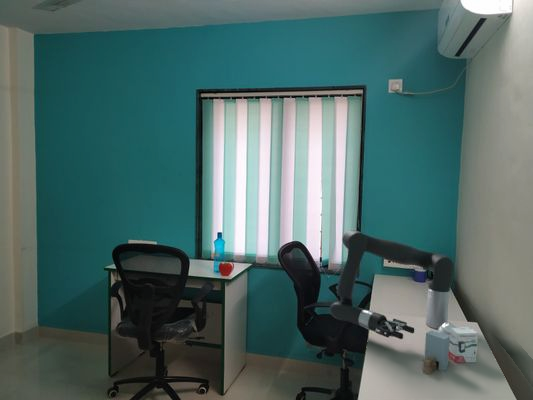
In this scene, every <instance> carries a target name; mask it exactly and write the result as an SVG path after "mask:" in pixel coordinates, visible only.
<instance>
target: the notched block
mask: <svg viewBox="0 0 533 400" xmlns="http://www.w3.org/2000/svg"><path fill="white" fill-rule="evenodd" d="M449 339H450V336H447V335H444V334H441V333H438V332H437V331H434V330H429V331H427V332H426V333H425V344H424V357H423V358H424V359H423V361H424V360H425V359H426V358H428V357H429V356H432V357H435V358H436V361H438V362H439V367H438V370H439V371H441V372H444V371H445V370H447V369H448V366H449V360H448V353H449Z"/></svg>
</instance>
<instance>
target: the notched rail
mask: <svg viewBox="0 0 533 400" xmlns="http://www.w3.org/2000/svg"><path fill="white" fill-rule="evenodd" d="M449 359H450V358H449V353H448V361H449ZM422 365H423V367H422V370H423V371H422V373H424V374H427V375H430V374H431V373H432V372H434V371H435V370H438V369H439V362H438V361H436V358H435V357H432V356H429V357H428V358H426V359H425V360H424V359H423V364H422Z"/></svg>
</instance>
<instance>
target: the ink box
mask: <svg viewBox="0 0 533 400" xmlns="http://www.w3.org/2000/svg"><path fill="white" fill-rule="evenodd" d="M478 337H479V333H478V332H477V331H476V330H475V329H473V328H472V327H469V326H465V327H456V328H451V329H450V345H449V359H450V360H452V361H453V362H454V363H457V364H458V363H475V362H477V349H478Z"/></svg>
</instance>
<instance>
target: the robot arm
mask: <svg viewBox="0 0 533 400" xmlns="http://www.w3.org/2000/svg"><path fill="white" fill-rule="evenodd" d="M342 243H343V245H344V247H345V248H346V249H347V256H346V257H347V259H346V261H345V265H344V267H343V269H342V271H341V273H340V275H339V279H338V281H337V282H338V283H337V288H336V294H337V296H338V297H339V298H340V300H339V301H336V302H333V303H331V304H330V305H329V313H330V315H331V316H332V317H333V318H334V319H336V320H339V321H344V322H350V323H353V324H354V325H357V326H360V327H362V328H365V329H367V330H369V331H371V332H374V333H376V334H378V335H380V336H382V337H386V338H396V339H398V340H403V339H404V333H403V332H401V331H404V332H407V333H410V334H414V333H415V327H412V326H409V325H407V324H408V323H407V322H406V321H403V320H400V319H396V318H393V319H392V320H388V319H387V316H386V315H384V314H381V313H379V312H375V311H372V310H368V309H364V308H363V307H362V308H361V307H359V306H353V305H354V304H353V303H354V302H353V299H354V298H353V292H354V289H355V283H356V280H357V274H358V271H359V268H360V265H361V262H362V260H363V258H364V257H363V256H364V254H365V253H369V254H371V255H374V256H376V257H379V258H380V259H383V260H385V261H388V262H392V263H395V264H397V265H398V264H399V265H405V266H417V267H420V268H423V269H425V270H428V271H430V272H431V273H433V277H432V280H430V281H428V284H427V285H428V286H427V301H426V302H427V304H426V316H425V317H426V318H425V325H426V326H427V327H430V328H432V329H437V330H438V329H439V327H440V326H442V325H443V324H444V323H445V322H449V308H450V307H449V306H450V297H451V287H452V285H453V281H454V273H455V271H454V270H455V266H454V265H455V264H454V262H453V259H451V258H450V257H448V256H447V255H444V254H442V253H437V252H430V251H426V250H425V251H424V250H421V249H417V248H415V247H413V246H410V245H408V244H405V243H402V242H398V241H395V240H389V239H384V238H377V237H373V236H370V235H368V234H365V233H364V232H361V231H358V230H356V229H353V230H349V231H346V232H345V233H344V234H343V236H342Z"/></svg>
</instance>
